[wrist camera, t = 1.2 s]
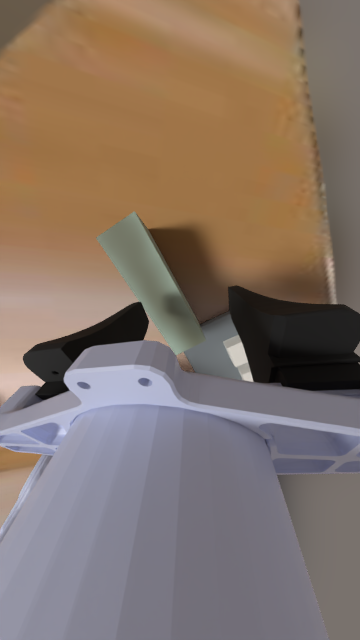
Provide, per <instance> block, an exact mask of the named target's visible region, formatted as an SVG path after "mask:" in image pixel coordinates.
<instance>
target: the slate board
mask: <svg viewBox="0 0 360 640" xmlns="http://www.w3.org/2000/svg"><path fill="white" fill-rule="evenodd" d="M200 327H201V329H202V332H203V334H204V336H205V339H206V341H204V342H202V343H200V344H198V345H196V346H194V347H192V348H190V349H188V350H186V351H184V353H185V355H186V357H187V359H188V360H189V362H190V364H191V365H192V367H193V369H194V371H195V372H196V373H200V374H206V375H213V376H219V377H225V378H232V379H238V380H242V377H241V375H240V373H239V370H238V368H237V367H238V366H237V367H235V366H234V364H233V363H232V361H231V359H230V357H229V354H228V352H227V350H226V348H225V345H224V343H223V341H225V340H227V339H230V338H232V337H234V336H237V335H238V333H237V330H236V328H235V326H234V324H233V321H232V319H231V315H230V311H228V312H226V313H224V314H222V315H220V316H218V317H215V318H213V319H211V320H209V321H207V322H205V323H202V324H200Z"/></svg>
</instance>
